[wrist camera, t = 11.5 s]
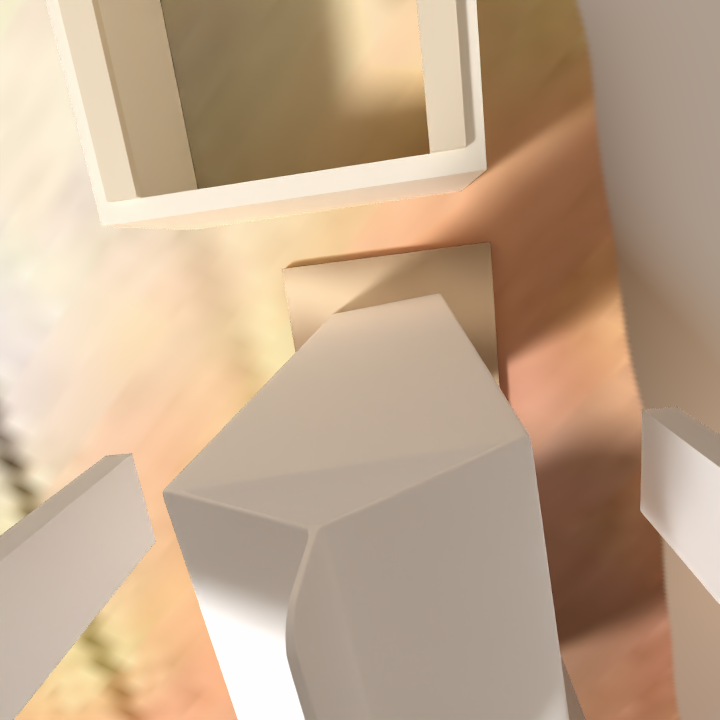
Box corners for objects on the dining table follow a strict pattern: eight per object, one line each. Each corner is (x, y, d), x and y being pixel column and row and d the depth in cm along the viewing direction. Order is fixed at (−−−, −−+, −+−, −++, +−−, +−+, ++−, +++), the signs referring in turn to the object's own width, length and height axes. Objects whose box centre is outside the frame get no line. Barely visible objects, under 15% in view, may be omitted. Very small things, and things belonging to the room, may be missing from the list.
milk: (354, 414, 27) (165, 1042, 6) (331, 311, 26) (-21, 659, 5) (461, 397, 26) (675, 1063, 5) (442, 289, 25) (634, 595, 4)
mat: (284, 268, 26) (281, 269, 26) (488, 242, 25) (490, 242, 24) (314, 452, 29) (312, 456, 28) (500, 437, 27) (502, 441, 27)
